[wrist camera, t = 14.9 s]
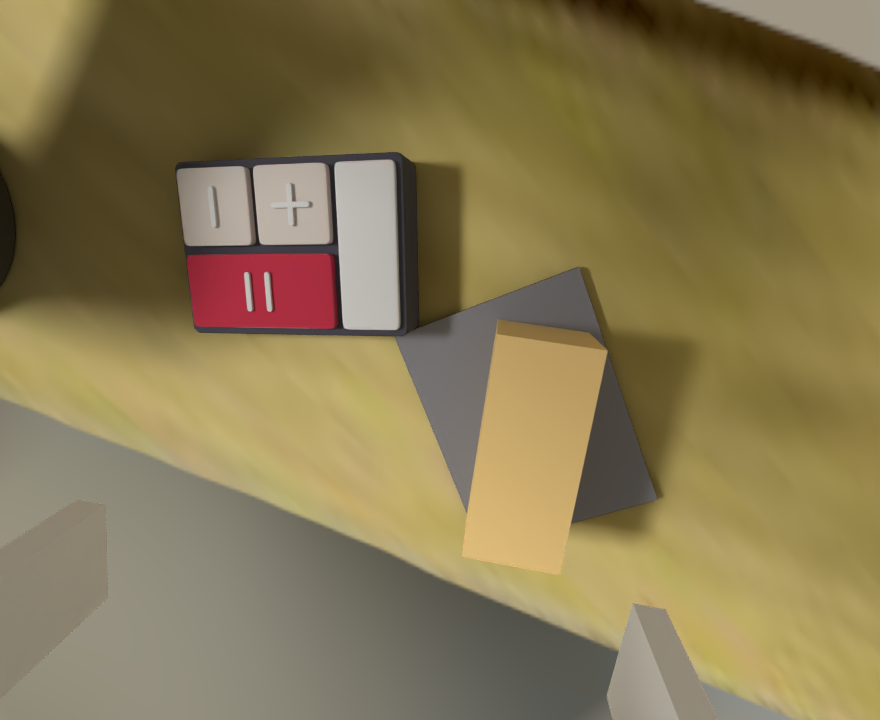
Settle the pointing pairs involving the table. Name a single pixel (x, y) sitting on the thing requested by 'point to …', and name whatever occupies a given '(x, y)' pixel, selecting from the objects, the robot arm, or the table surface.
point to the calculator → (302, 244)
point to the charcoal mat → (466, 377)
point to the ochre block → (532, 444)
